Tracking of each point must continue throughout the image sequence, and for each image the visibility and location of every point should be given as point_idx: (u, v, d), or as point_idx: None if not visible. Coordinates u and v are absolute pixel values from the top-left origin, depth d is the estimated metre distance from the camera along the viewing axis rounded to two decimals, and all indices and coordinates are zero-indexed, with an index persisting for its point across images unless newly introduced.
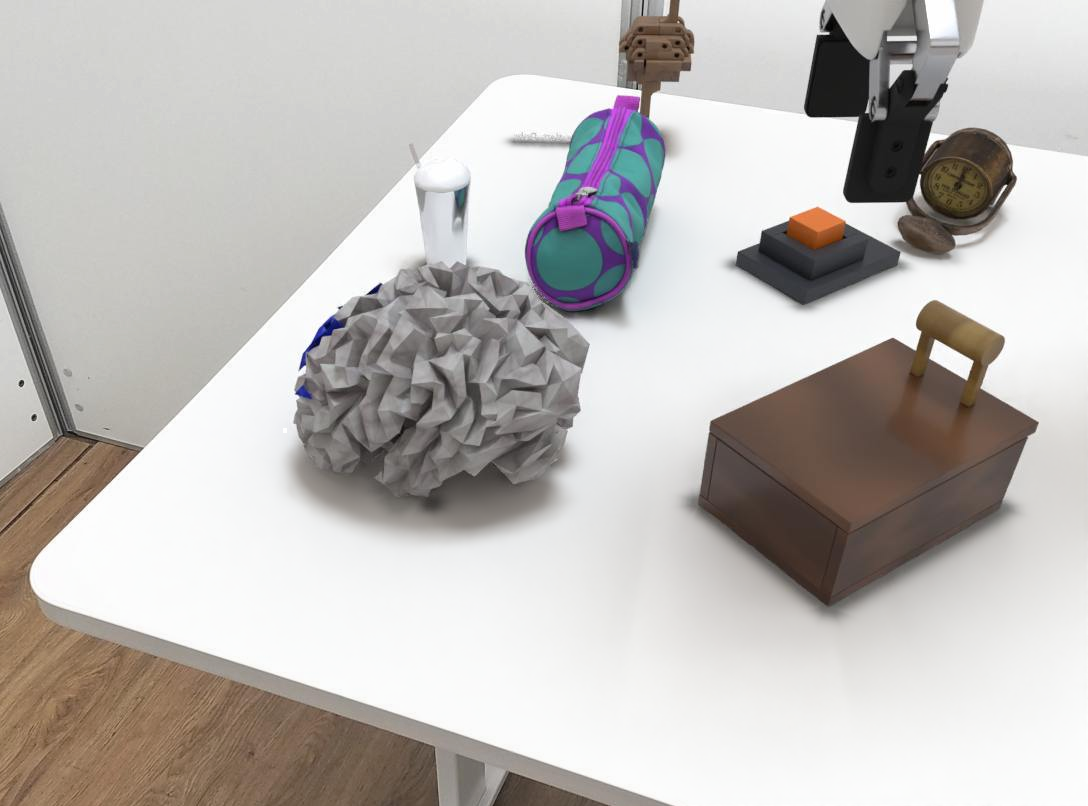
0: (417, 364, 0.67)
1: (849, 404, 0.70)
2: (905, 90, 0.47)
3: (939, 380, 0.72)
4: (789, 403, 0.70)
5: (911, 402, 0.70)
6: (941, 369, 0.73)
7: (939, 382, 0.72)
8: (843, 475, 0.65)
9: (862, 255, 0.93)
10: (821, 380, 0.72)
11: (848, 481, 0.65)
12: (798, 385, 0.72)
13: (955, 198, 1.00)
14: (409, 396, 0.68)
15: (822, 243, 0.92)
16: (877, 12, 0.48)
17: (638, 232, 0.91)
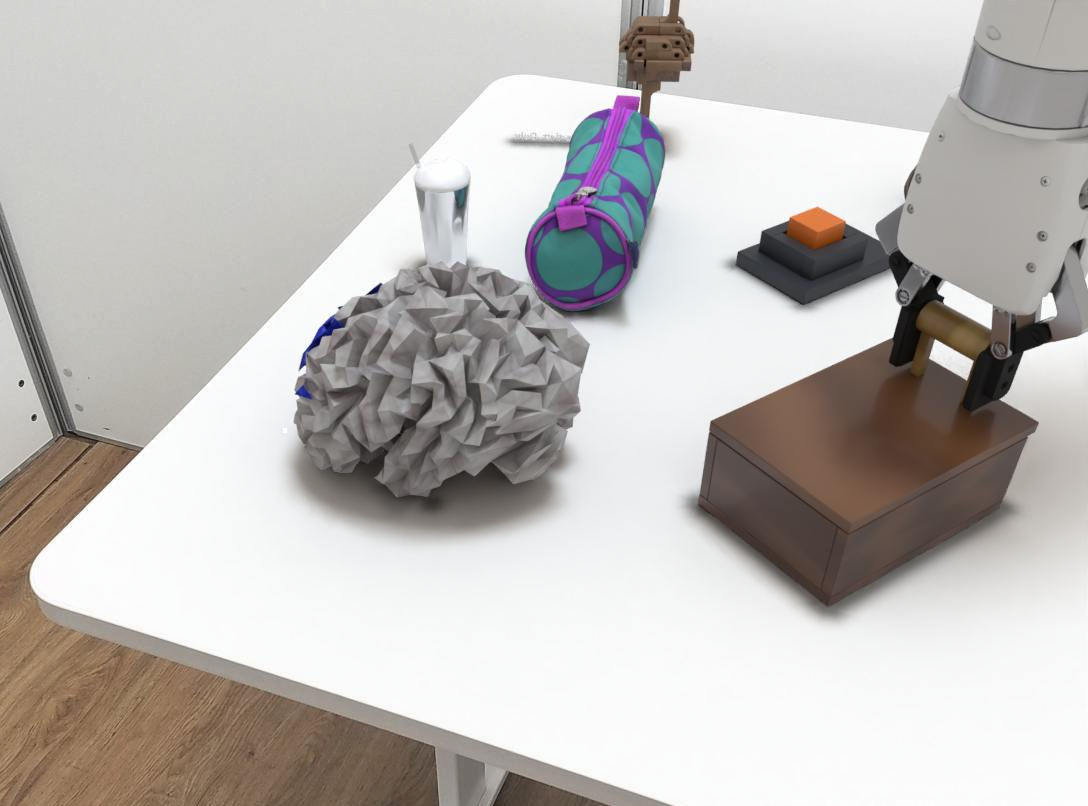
0: (417, 364, 0.67)
1: (849, 404, 0.70)
2: (1042, 339, 0.63)
3: (939, 380, 0.72)
4: (789, 403, 0.70)
5: (911, 402, 0.70)
6: (941, 369, 0.73)
7: (939, 382, 0.72)
8: (843, 475, 0.65)
9: (862, 255, 0.93)
10: (821, 380, 0.72)
11: (848, 481, 0.65)
12: (798, 385, 0.72)
13: None
14: (409, 396, 0.68)
15: (822, 243, 0.92)
16: (1039, 287, 0.61)
17: (638, 232, 0.91)
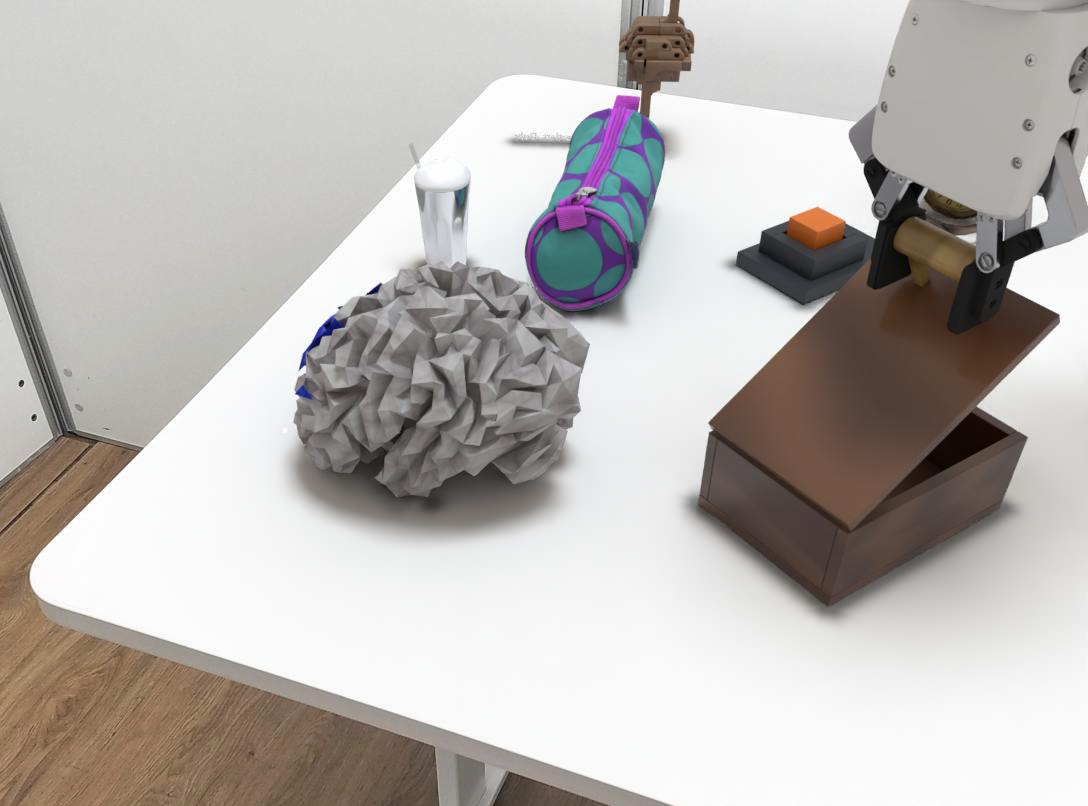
0: (417, 364, 0.67)
1: (847, 354, 0.67)
2: (1032, 247, 0.56)
3: (946, 285, 0.66)
4: (785, 372, 0.68)
5: (914, 330, 0.65)
6: None
7: (947, 287, 0.66)
8: (840, 460, 0.64)
9: (862, 255, 0.93)
10: (818, 327, 0.68)
11: (846, 468, 0.64)
12: (794, 342, 0.69)
13: None
14: (409, 396, 0.68)
15: (822, 243, 0.92)
16: (1027, 185, 0.54)
17: (638, 232, 0.91)
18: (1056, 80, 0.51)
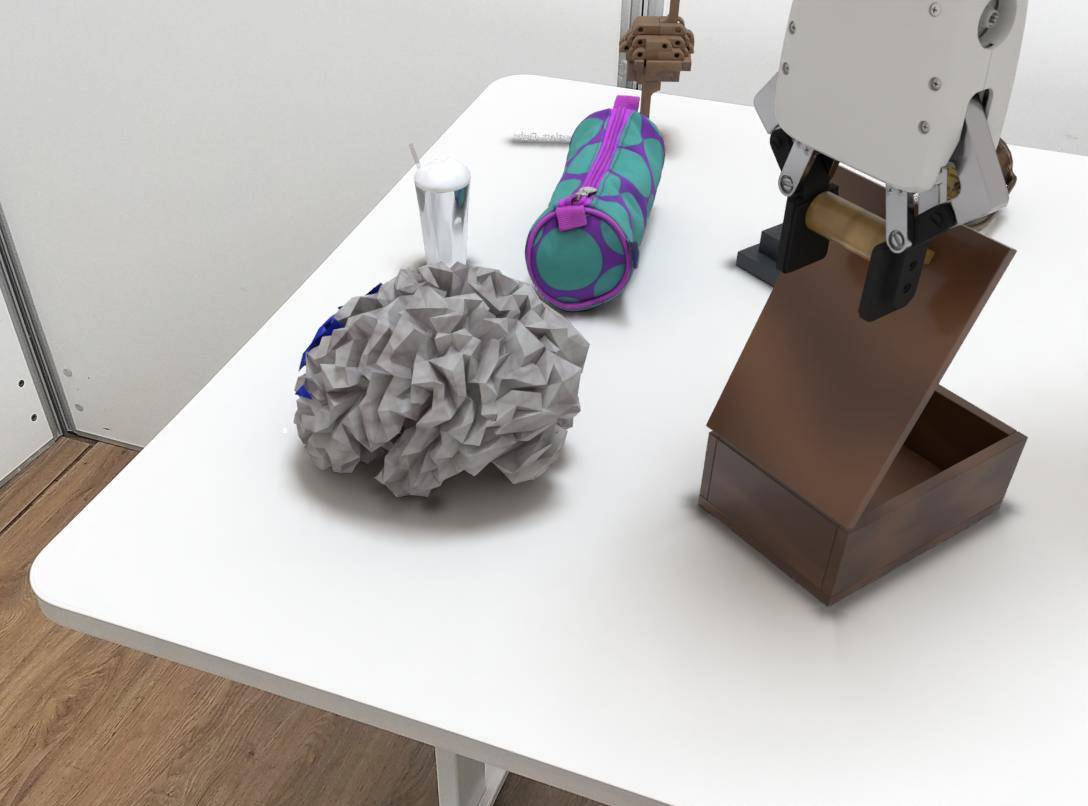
0: (417, 364, 0.67)
1: (812, 329, 0.63)
2: (944, 223, 0.51)
3: None
4: (761, 359, 0.66)
5: None
6: None
7: None
8: (827, 456, 0.63)
9: None
10: (780, 299, 0.65)
11: (833, 464, 0.63)
12: (762, 322, 0.66)
13: None
14: (409, 396, 0.68)
15: None
16: (936, 153, 0.49)
17: (638, 232, 0.91)
18: (963, 32, 0.45)
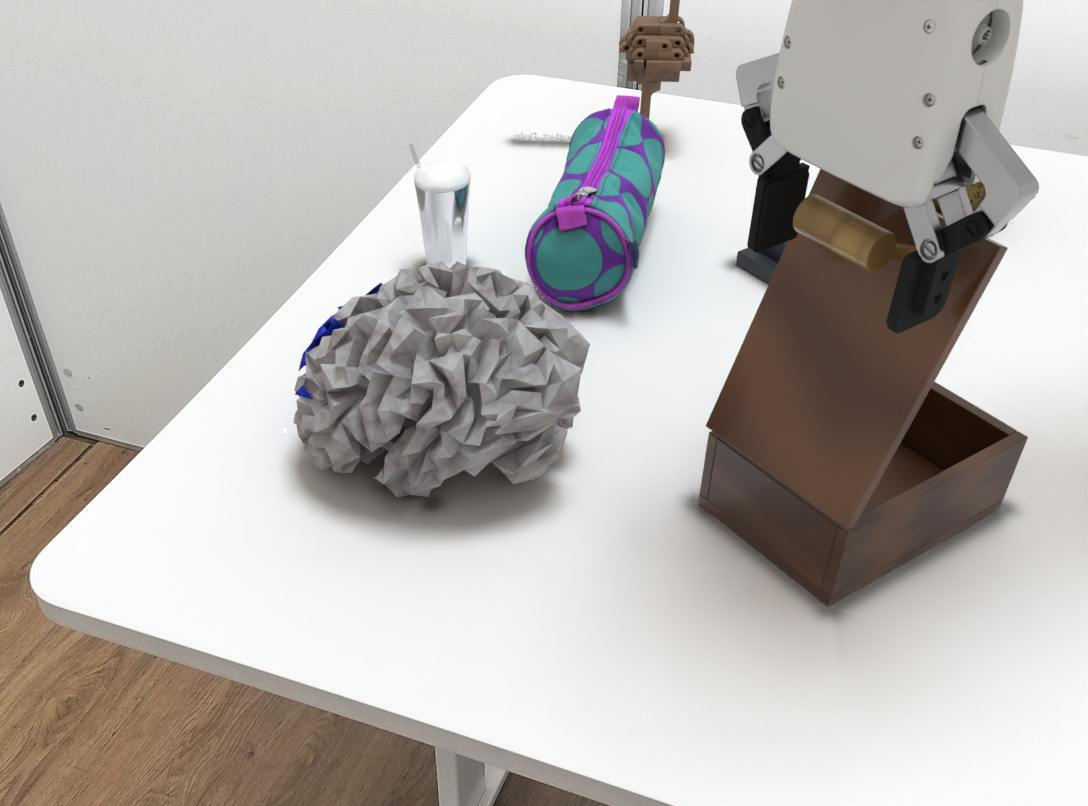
0: (417, 364, 0.67)
1: (807, 329, 0.63)
2: (980, 232, 0.49)
3: (883, 225, 0.59)
4: (757, 359, 0.66)
5: (863, 289, 0.60)
6: None
7: (884, 228, 0.59)
8: (825, 457, 0.63)
9: None
10: (775, 299, 0.64)
11: (831, 464, 0.63)
12: (757, 321, 0.65)
13: None
14: (409, 396, 0.68)
15: None
16: (929, 168, 0.49)
17: (638, 232, 0.91)
18: (957, 49, 0.46)
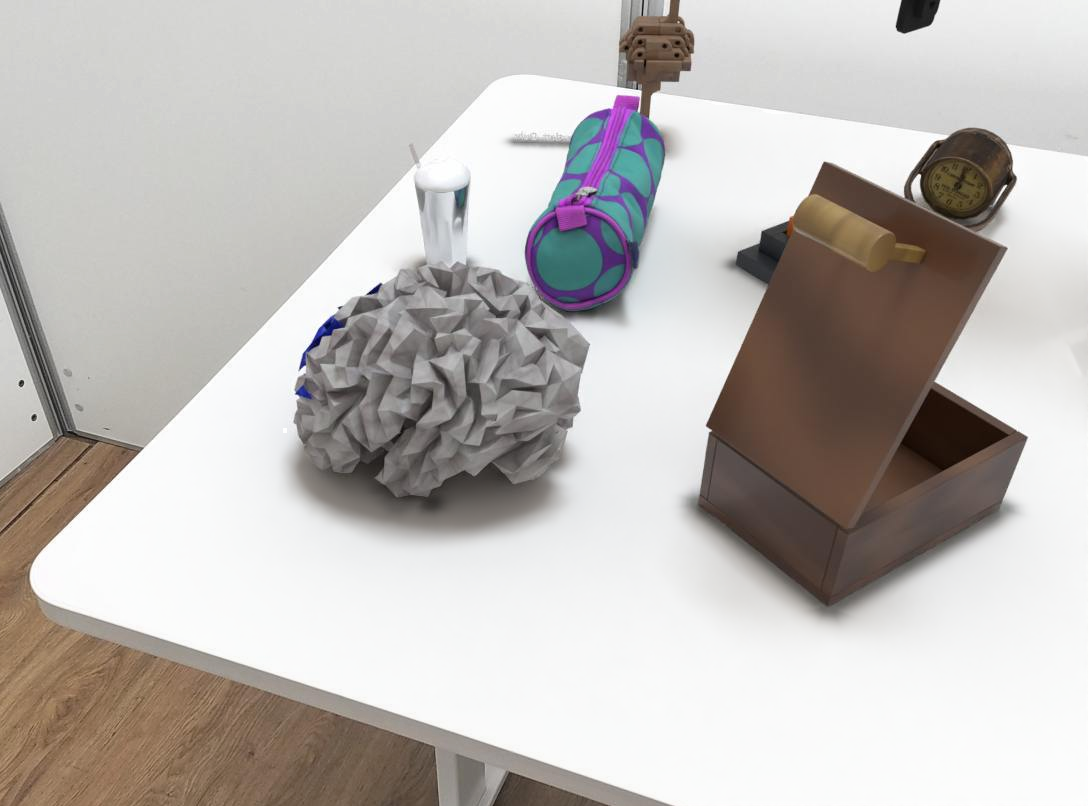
0: (417, 364, 0.67)
1: (807, 329, 0.63)
2: None
3: (883, 225, 0.59)
4: (757, 359, 0.66)
5: (863, 289, 0.60)
6: (882, 198, 0.59)
7: (884, 228, 0.59)
8: (825, 457, 0.63)
9: None
10: (775, 299, 0.64)
11: (831, 464, 0.63)
12: (757, 321, 0.65)
13: (955, 198, 1.00)
14: (409, 396, 0.68)
15: None
16: None
17: (638, 232, 0.91)
18: None
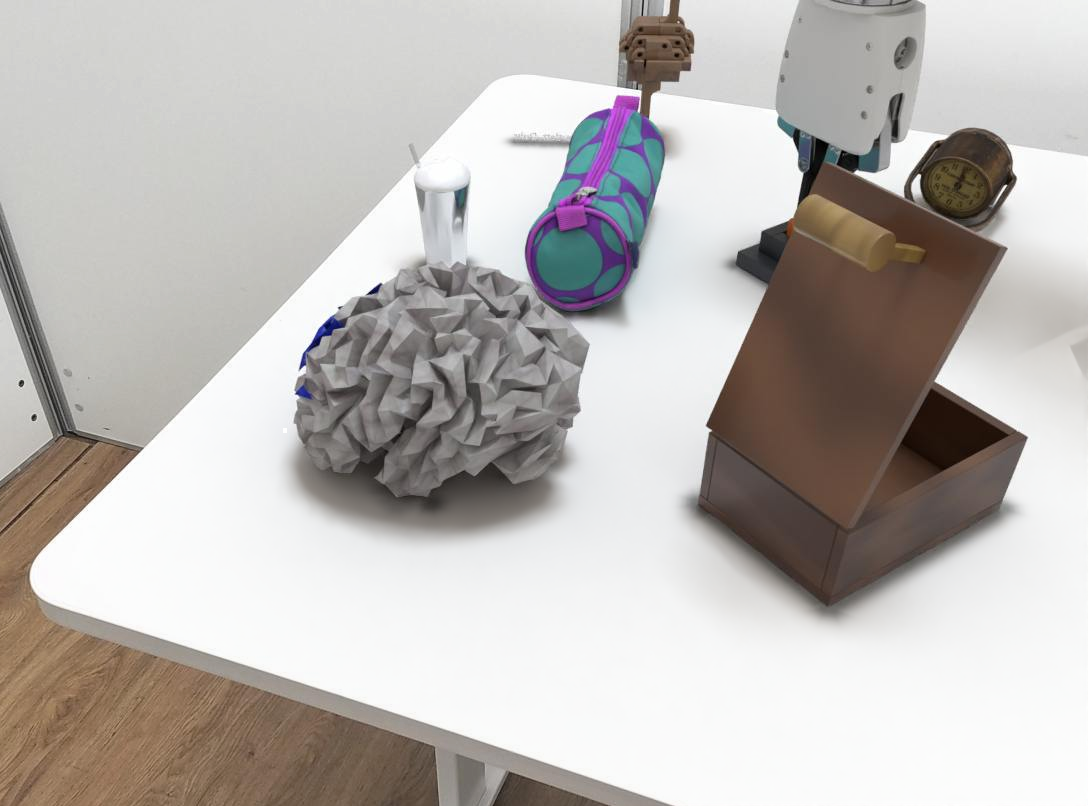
0: (417, 364, 0.67)
1: (807, 329, 0.63)
2: (852, 164, 0.86)
3: (883, 225, 0.59)
4: (757, 359, 0.66)
5: (863, 289, 0.60)
6: (882, 198, 0.59)
7: (884, 228, 0.59)
8: (825, 457, 0.63)
9: None
10: (775, 299, 0.64)
11: (831, 464, 0.63)
12: (757, 321, 0.65)
13: (955, 198, 1.00)
14: (409, 396, 0.68)
15: None
16: (871, 130, 0.82)
17: (638, 232, 0.91)
18: (885, 60, 0.79)
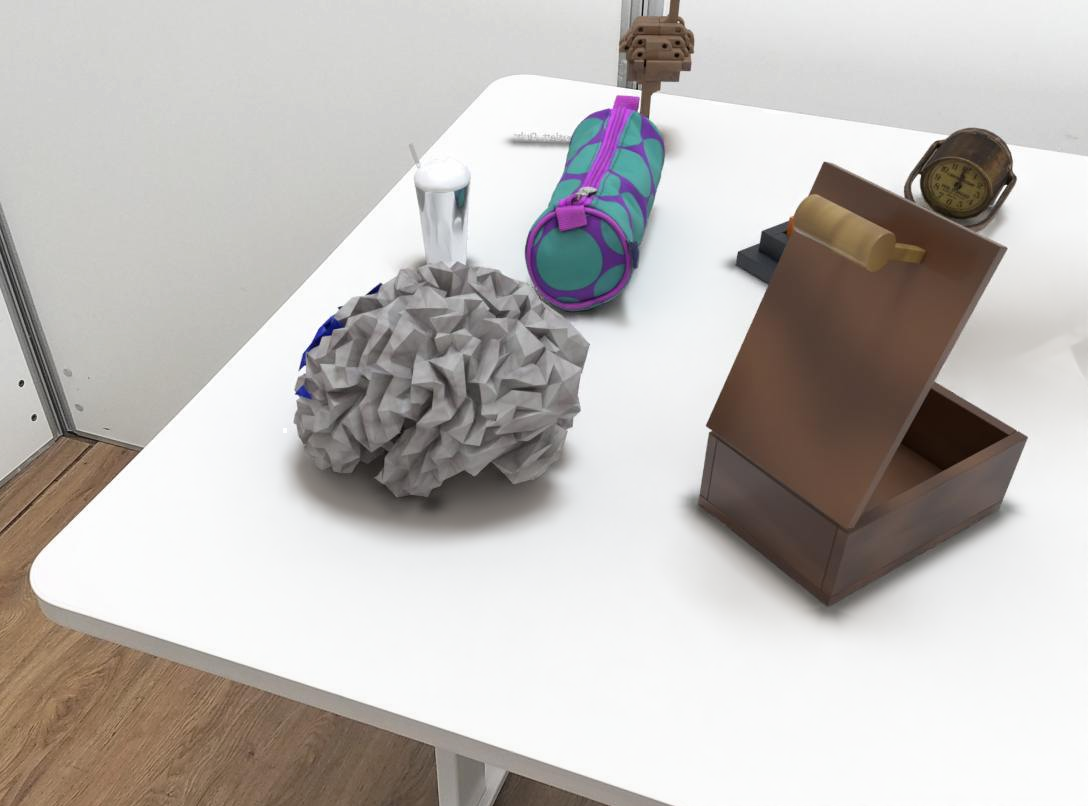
0: (417, 364, 0.67)
1: (807, 329, 0.63)
2: None
3: (883, 225, 0.59)
4: (757, 359, 0.66)
5: (863, 289, 0.60)
6: (882, 198, 0.59)
7: (884, 228, 0.59)
8: (825, 457, 0.63)
9: None
10: (775, 299, 0.64)
11: (831, 464, 0.63)
12: (757, 321, 0.65)
13: (955, 198, 1.00)
14: (409, 396, 0.68)
15: None
16: None
17: (638, 232, 0.91)
18: None
